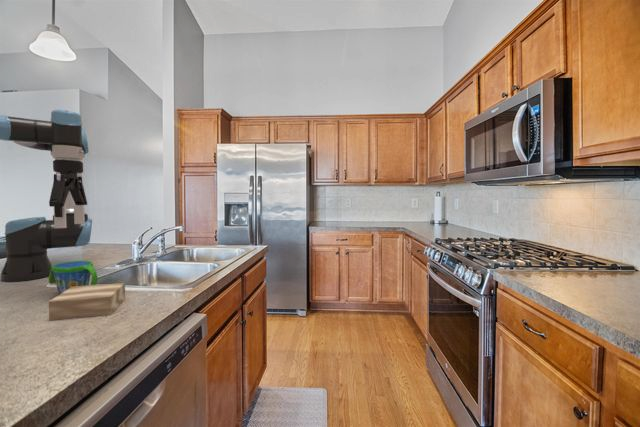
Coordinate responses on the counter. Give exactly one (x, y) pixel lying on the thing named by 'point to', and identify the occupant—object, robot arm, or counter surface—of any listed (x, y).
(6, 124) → the robot arm
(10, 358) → the counter surface
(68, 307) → the maple block
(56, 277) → the snack cup
